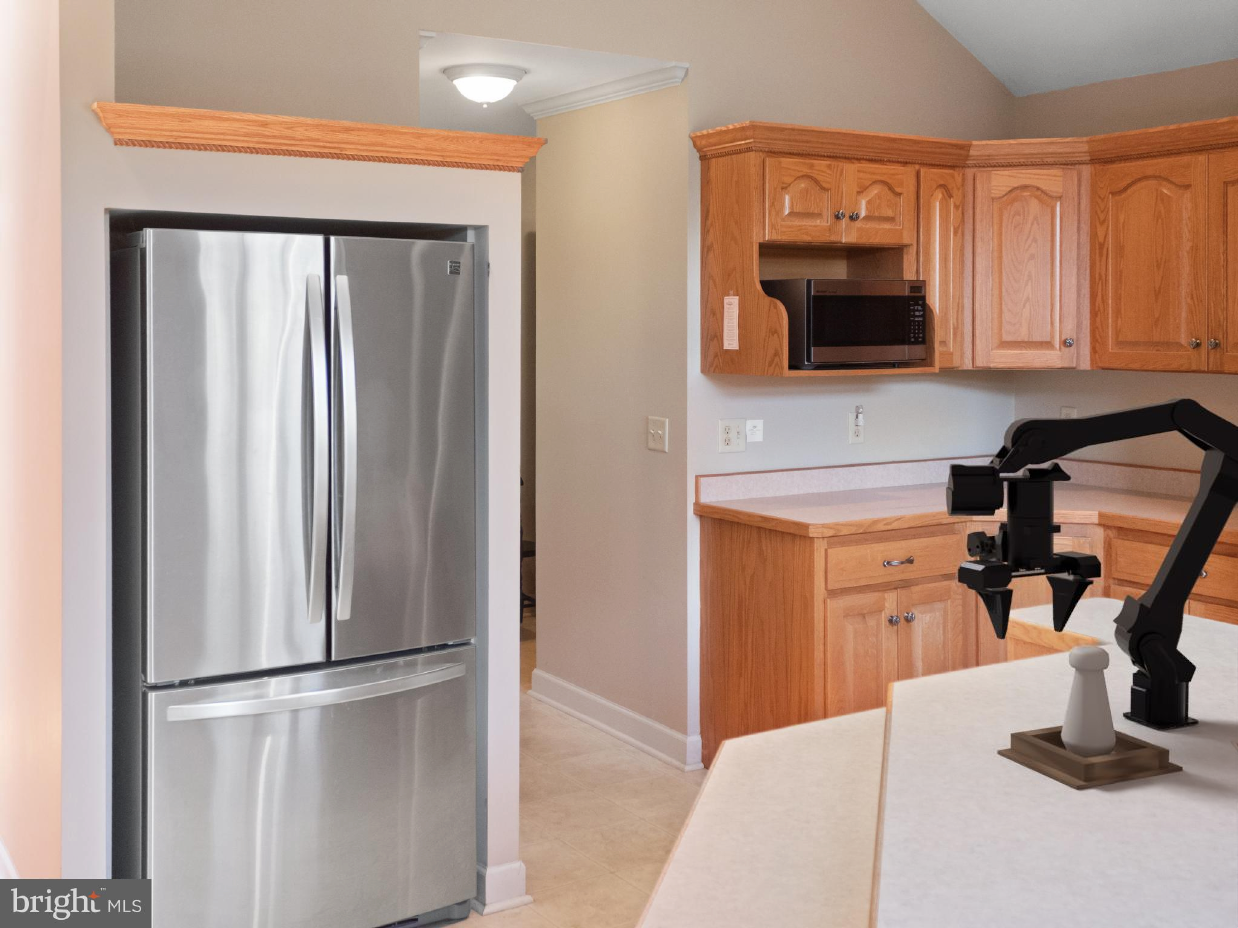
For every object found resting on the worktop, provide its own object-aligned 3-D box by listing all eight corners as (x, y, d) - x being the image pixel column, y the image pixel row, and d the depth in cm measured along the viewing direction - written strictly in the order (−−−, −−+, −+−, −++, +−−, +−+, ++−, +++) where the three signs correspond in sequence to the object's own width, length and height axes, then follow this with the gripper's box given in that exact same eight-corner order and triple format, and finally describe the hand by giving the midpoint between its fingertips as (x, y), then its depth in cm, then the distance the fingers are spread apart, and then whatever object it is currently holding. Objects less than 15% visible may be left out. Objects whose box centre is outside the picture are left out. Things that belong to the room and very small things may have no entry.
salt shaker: (1120, 767, 130) (1121, 653, 129) (1066, 765, 131) (1067, 652, 130) (1108, 750, 135) (1109, 642, 134) (1057, 748, 136) (1057, 641, 135)
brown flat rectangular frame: (1097, 737, 142) (1097, 718, 141) (1182, 770, 129) (1183, 749, 129) (997, 753, 136) (997, 733, 136) (1076, 789, 124) (1076, 767, 124)
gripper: (1044, 505, 159) (1044, 616, 160) (931, 514, 152) (931, 630, 153) (1104, 513, 149) (1104, 632, 150) (986, 523, 142) (986, 647, 143)
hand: (1029, 635), depth 149 cm, fingers open, 9 cm apart
